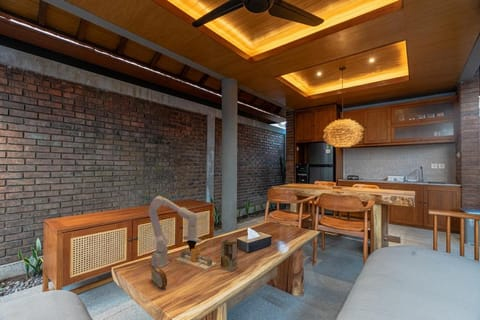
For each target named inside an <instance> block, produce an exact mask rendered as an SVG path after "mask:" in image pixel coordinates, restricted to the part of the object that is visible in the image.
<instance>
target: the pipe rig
mask: <svg viewBox="0 0 480 320" xmlns="http://www.w3.org/2000/svg"><path fill="white" fill-rule="evenodd" d="M196 258H197V259H199V260H197V261H192V260H191V252H190V251H187V250H184V249H183V250H182V251H181V252H180V256H179V257H177V258H175V261H176V262H180V263H183V264H187V265H188V266H192V267H195V268H197V269H200V270H203V271H208V270H210V269H212V268H213V267H215V266H217V262H214V261H213V259H211V258H210V257H207V256H205V255H201V254H200V255H196Z"/></svg>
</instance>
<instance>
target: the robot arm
mask: <svg viewBox="0 0 480 320" xmlns="http://www.w3.org/2000/svg"><path fill="white" fill-rule="evenodd" d="M161 207H168V208H170V209H172V210H174V211H176V212H177V214H178V216H180V217H181V218H184V220H187V221H188V224H187V235H183V238H182V239H183V240H187V241H186V244H187V245H188V248H189V252H191V249H193V248H195V247H196V245H197V243H198V244H200V243H202V239H201V238H199V237H198V236H197V231H198V230H197V227H198V226H197V223H198V222H197V221H198V217H197V214H196V213H195V212H193V211H190V210H188V208H187V207H185V206H182V207H180V206H178V205H177V204H176V203H174V202H173V201H171V200H169V199H168V198H166V197H163V196H161V195H157V196H155V197H154V198H153V200H152V201H151V202H150V206H149V208H148V212H147V213H148V215H149V219H150V223H151V226H152V230H153V232H154V237H155V242H156V245H155V251H153V253H152V254H151V263H150V266H152V267H153V268H154V267H156V266H158V267H159V268H160V269H161V268H162V267H165V266H167V265H169V264H170V263H171V262H170V261H169V260H168V253H169V252H168V239H167V238H166V237H165V234H164V232H163V229H162V226H161V223H160V222H161V221H160V219H159V215H158V210H159V208H161Z"/></svg>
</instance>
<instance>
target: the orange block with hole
mask: <svg viewBox="0 0 480 320" xmlns="http://www.w3.org/2000/svg"><path fill="white" fill-rule="evenodd" d="M196 255H201V248H200V247H196V246H195V247H194V248H193V249H191V260H192V261H197V260H199V259H197V258H196Z"/></svg>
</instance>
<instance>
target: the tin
mask: <svg viewBox="0 0 480 320" xmlns="http://www.w3.org/2000/svg"><path fill="white" fill-rule="evenodd" d="M150 273H151V280H152V282H153V283H154V284H155V285H156V286H157V287H158V288H159V289H164V288H167V285H168V278H167V277H168V276H167V274H166V272H165V271H164V270H163V269H161V267H160V268H159V267H158V266H156V267H154V266H153V267H152V268H151V272H150Z"/></svg>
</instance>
